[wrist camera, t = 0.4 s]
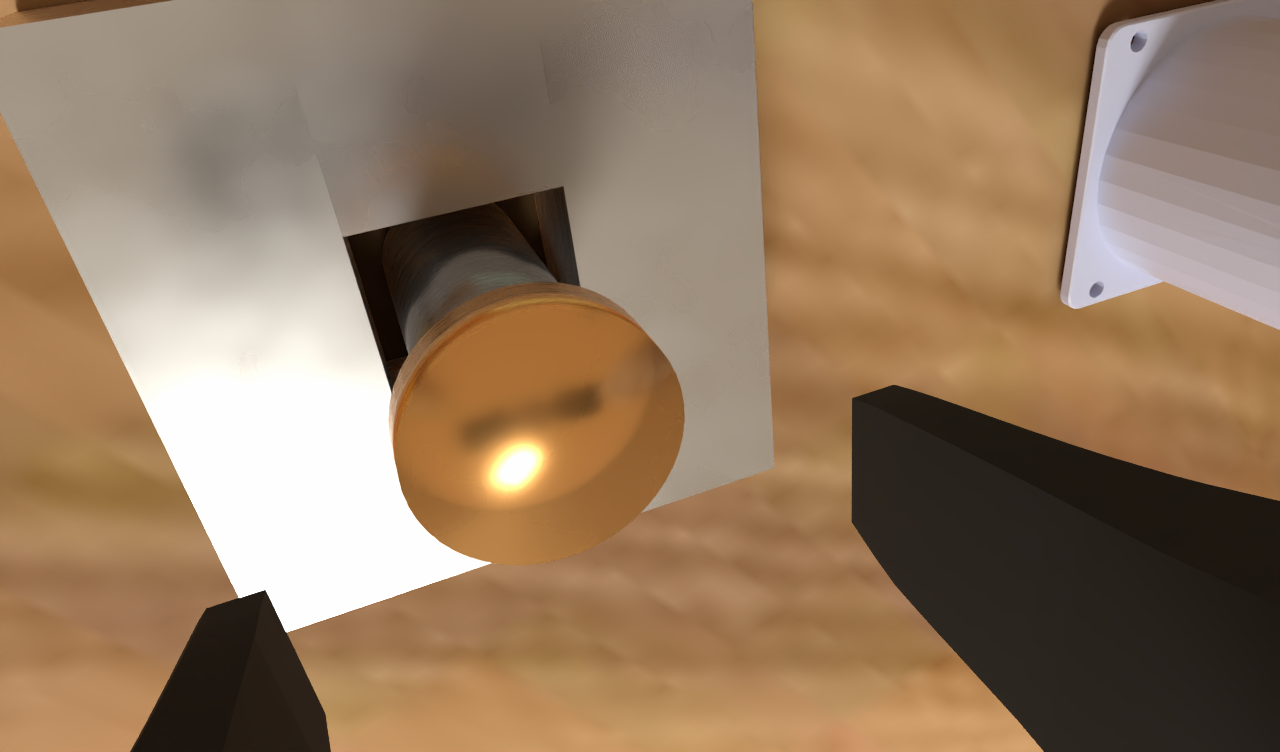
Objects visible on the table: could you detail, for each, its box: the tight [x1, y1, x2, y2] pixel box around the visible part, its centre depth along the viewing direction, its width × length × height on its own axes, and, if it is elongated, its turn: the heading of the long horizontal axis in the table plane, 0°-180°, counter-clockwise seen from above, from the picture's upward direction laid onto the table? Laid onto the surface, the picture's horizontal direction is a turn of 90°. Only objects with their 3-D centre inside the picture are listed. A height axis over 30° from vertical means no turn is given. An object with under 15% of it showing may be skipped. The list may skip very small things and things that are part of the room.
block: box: [0, 0, 774, 632], centre depth 18 cm, size 12×12×3 cm
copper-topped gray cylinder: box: [382, 203, 685, 565], centre depth 16 cm, size 4×4×8 cm
